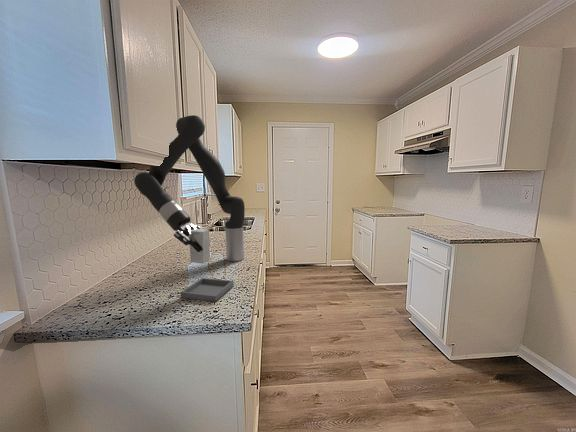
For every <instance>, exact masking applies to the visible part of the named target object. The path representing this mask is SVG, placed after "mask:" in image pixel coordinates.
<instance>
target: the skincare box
mask: <svg viewBox="0 0 576 432" xmlns="http://www.w3.org/2000/svg"><path fill="white" fill-rule="evenodd" d="M191 233H192V234H193V237H194V239H195V241H197V242H198V243H199V245H200V246H201V247H202V248H203V249H202V250H201V251H200V252H197V251H196V250H195V249H194V248H193V247H192V246H191V245H189V253H190V254H189V257H190V258H189V259H190V261H189V262H191V263H195V264H202V265H203V264H205V263H208V262H210V260H211V258H210V257H211V256H210V252H211V251H210V246H211V245H210V246H209V244H210V229H204V228H202V229H194V230H191Z"/></svg>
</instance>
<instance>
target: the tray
mask: <svg viewBox="0 0 576 432" xmlns="http://www.w3.org/2000/svg"><path fill="white" fill-rule="evenodd" d="M234 285H235V283H234V280H229V279H220V278H219V279H218V278H208V277H207V278H206V277H200V279H198V280H196V281H195V282H194V283H192V284H190V285H189V286H187V287H186V288H185V289H183V290H182V291H180V294H179V295H180V299H181V300H182V299H183V300H190V301H198V302H205V303H206V302H207V303H215V304H216V303H217V302H219V301H220V300H221V299H222V298H223V297H224V296H226V294H227V293H229V292H230V291H231V290H232V289H233V288H234Z"/></svg>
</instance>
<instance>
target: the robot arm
mask: <svg viewBox="0 0 576 432" xmlns="http://www.w3.org/2000/svg"><path fill="white" fill-rule="evenodd" d="M205 125H206V124H205V122H204V120H203V118H201V117H200V116H198V115H187V116H183V117H180V118H179V119H177V121H176V123H175V127H176V128H177V129H176V131H177V133H178V135H177V136H176V137H175V138H174V139H173V140H172V141H171V142H170V143H169V144H170V145H169V156H168V157H165V158H164V160H163V163H162V164H161V165H160V166H150V165H149V172H139V173H138V174H136V176H135V177H134V180H133V181H134V185H135V188H136V189H137V190H138V192H139V193H140V194H141V195H143V196H145V198H146V199H147V200H148V201H149V202H150V204H151V206H153V208H154V209H155V210H156V211H157V212H158V214H160V216H161V218H162V219H163V220H164V221H165V222H166V224H168V226H169V227H170V228H171V229H172V230H173V231H175V232H174V233H173V237H174V238H176V239H177V240H178V241H179V242H180V243H182V244H183V245H185V246H190V245H191V246H192V247H193V248H194V249H195V250H196V251H197V252H200V251H201V250H202V249H203V248H202V247H201V246H200V245H199V243H198V242H197V241H195V239H194V237H193V234H192V233H191V230H194V229H203V227H202V226H201V225H202V224H199V223H197V224H196V225H195V224H194V223H193V222H191V216H189V214H188V213H187V212H186V211H185V210H184V209H183V207H181V206H180V204H178V203H177V202H176V201H175V200H174V199H173V198H172V197H171V196H170V195H169V193H167V192H166V190H164V188H163V184H164V181H165V180H166V177H167V175H168V174H169V172H170V171H171V170H172V169H173V167H174V166H175V165H176V163H177V162H178V160H180V158H181V157H182V156H183V154H185V152H186V151H187V150H188V149H189V151H190V152H191V154H192V156H193V158H194V159H195V162H196V163H197V165H198V166H199V169H200V170H201V172H202V174H203V176H204V178H205V179H206V181H207V182H208V183H209V186H210V187H211V189H212V191H213V193H214V195H215V197H216V200H217V202H218V204H219V206H220V209H221V210H222V211H223V213H225V214H228V215H230V216H229V217H230V218H229V220H227V221H225V223H224V228H225V230H224V231H225V233H224V234H225V249H226V253H225V254H226V256H225V257H226V261H228V262H239V261H242V260H244V259H245V245H244V244H245V240H244V223H245V209H246V208H245V201H244V200H243V198H242V197H241V196H232V195H231V194H230V192H229V190H228V189H227V186H226V174H225V170H224V168H223V166H222V164H221V162H220V161H219V158H217V157H216V156H215V154H213V152H211V151H210V150H209V149H208V148H207V147H206V145H205V144H204V143H203V141H202V140H201V137H202V136H203V134H204V133H205V130H206V126H205ZM209 246H211V244H210V243H209Z"/></svg>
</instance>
